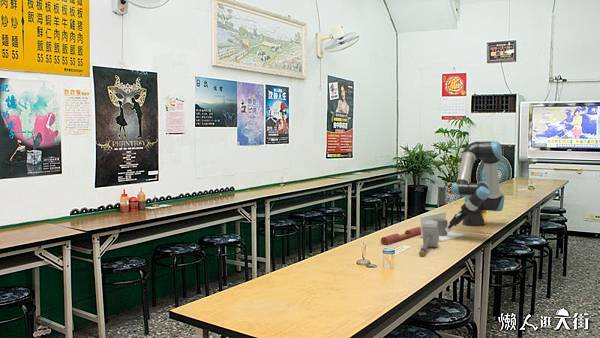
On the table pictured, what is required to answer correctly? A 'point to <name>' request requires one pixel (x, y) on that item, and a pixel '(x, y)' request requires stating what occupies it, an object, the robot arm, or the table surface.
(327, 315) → the table surface
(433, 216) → the rail panel
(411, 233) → the blood vessel
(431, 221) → the grey angled piece
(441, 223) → the block
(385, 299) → the table surface
